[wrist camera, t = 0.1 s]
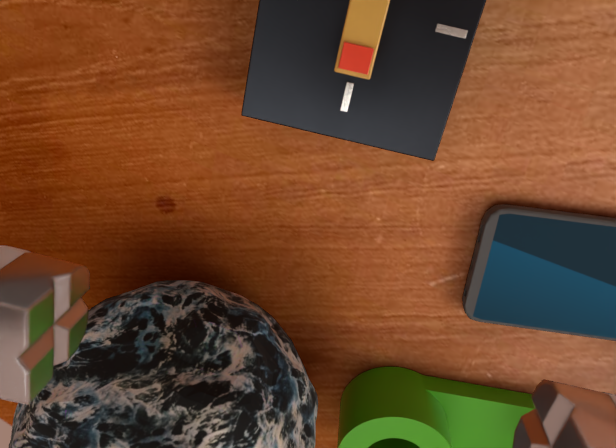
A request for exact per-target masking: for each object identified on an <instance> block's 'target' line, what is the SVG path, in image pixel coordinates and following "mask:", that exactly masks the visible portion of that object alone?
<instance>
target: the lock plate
mask: <svg viewBox="0 0 616 448" xmlns="http://www.w3.org/2000/svg"><path fill="white" fill-rule="evenodd" d="M349 1H350V0H259V7H258V13H257V19H256V26H255V32H254V38H253V44H252V51H251V57H250V63H249V70H248V76H247V82H246V89H245V95H244V101H243V107H242V116H246V117H251V118H255V119H259V120H263V121H267V122H272V123H276V124H280V125H284V126H288V127H293V128H297V129H301V130H305V131H310V132H314V133H318V134H322V135H326V136H331V137H335V138H339V139H343V140H347V141H352V142H356V143H360V144H364V145H369V146H373V147H377V148H381V149H385V150H390V151H394V152H398V153H402V154H407V155H411V156H415V157H419V158H423V159H428V160H432V161H434V159H435V156H436V153H437V150H438V147H439V144H440V141H441V138H442V135H443V132H444V129H445V125H446V122H447V119H448V116H449V113H450V110H451V107H452V104H453V101H454V98H455V95H456V92H457V88H458V85H459V82H460V79H461V76H462V73H463V70H464V67H465V64H466V61H467V58H468V55H469V51H470V48H471V45H472V42H473V39H474V36H475V33H476V30H477V27H478V24H479V21H480V18H481V14H482V11H483V8H484V5H485V2H486V0H390V3H389V7H388V11H387V15H386V19H385V23H384V27H383V31H382V35H381V39H380V43H379V46H378V50H377V54H376V58H375V62H374V66H373V70H372V74H371V78H370V79H368V80H367V79H363V78H359V77H355V76H350V75H346V74H342V73H338V72H335V71H334V68H335V64H336V59H337V55H338V50H339V46H340V41H341V37H342V32H343V28H344V24H345V19H346V15H347V10H348V6H349Z"/></svg>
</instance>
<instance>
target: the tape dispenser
mask: <svg viewBox="0 0 616 448" xmlns="http://www.w3.org/2000/svg"><path fill="white" fill-rule="evenodd" d="M531 396H532V394H527V393H522V392H516V391H510V390H505V389H499V388H493V387H487V386H482V385H476V384H470V383H465V382H459V381H453V380H448V379H442V378H436V377H431V376H425V375H421V374H419V373H417V372H415V371H413V370H410V369H406V368H401V367H379V368H375V369H371V370H368V371H366V372H364V373H362V374H360V375H358V376H357V377H355V378H354V379H353V380H352V381H351V382H350V383H349V384H348V385H347V387H346V388H345V390H344V392H343V394H342V397H341V403H340V417H339V432H338V446H337V448H513V439H514V432H515V429H516V427H517V425H518V422H519V420H520V418H521V416H523V415H524V414H526V413H528V412H530V411H532V410H533V409H535V408H534V405H533V402H532V399H531Z"/></svg>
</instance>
